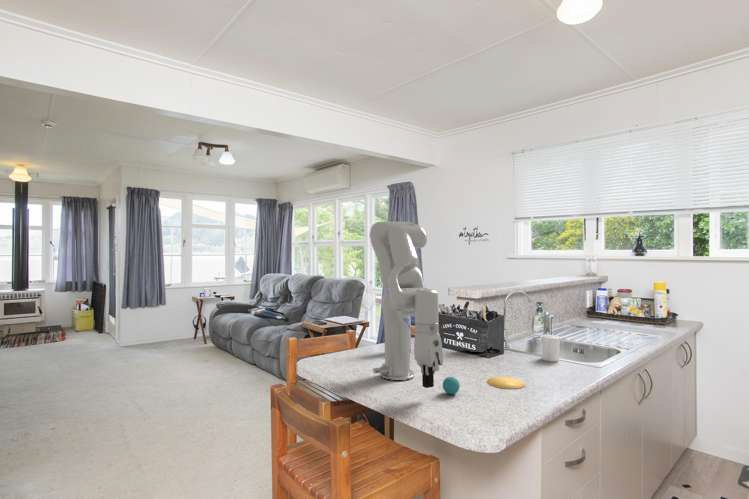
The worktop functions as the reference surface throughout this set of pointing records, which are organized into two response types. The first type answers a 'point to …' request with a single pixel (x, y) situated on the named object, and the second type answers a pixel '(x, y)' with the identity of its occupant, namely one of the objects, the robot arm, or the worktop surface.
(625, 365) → the worktop surface
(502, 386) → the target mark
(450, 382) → the ball
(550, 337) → the white cup
